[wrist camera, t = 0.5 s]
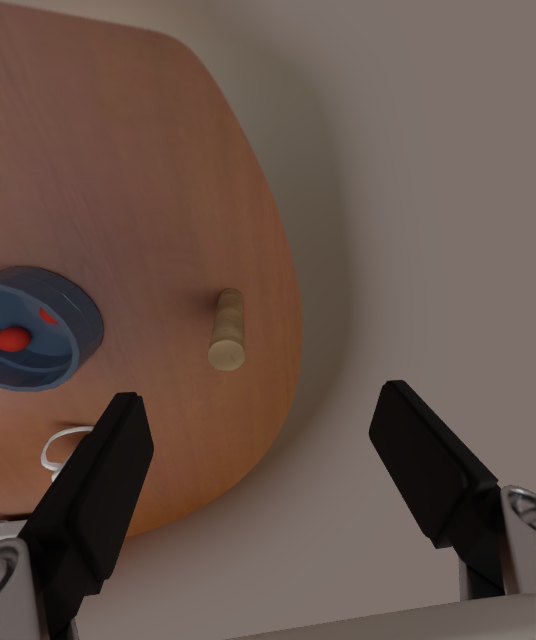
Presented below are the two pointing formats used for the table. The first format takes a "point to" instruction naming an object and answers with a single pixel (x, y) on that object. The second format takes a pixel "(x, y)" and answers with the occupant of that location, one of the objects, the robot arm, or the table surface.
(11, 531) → the game controller
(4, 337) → the ball
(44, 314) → the ball
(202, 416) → the table surface
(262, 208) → the table surface
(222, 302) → the stick
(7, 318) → the bowl
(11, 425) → the table surface
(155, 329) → the table surface
